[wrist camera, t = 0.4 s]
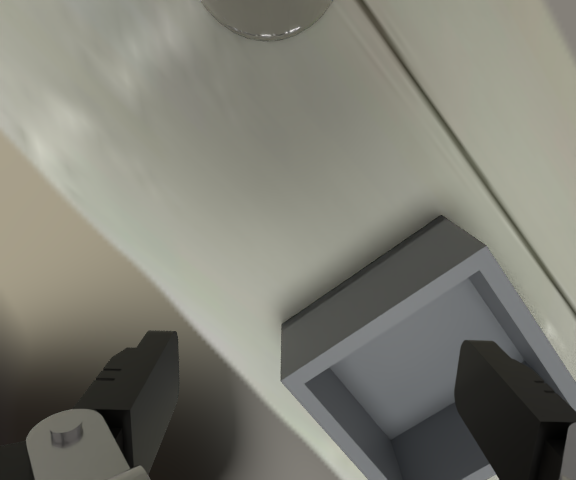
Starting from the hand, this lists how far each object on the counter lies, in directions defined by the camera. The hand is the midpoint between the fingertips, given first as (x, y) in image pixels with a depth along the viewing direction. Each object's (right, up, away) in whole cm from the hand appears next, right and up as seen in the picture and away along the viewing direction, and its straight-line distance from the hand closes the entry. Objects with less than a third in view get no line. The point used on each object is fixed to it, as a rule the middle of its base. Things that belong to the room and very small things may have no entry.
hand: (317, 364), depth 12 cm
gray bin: (+9, -4, +21) cm, 23 cm away
